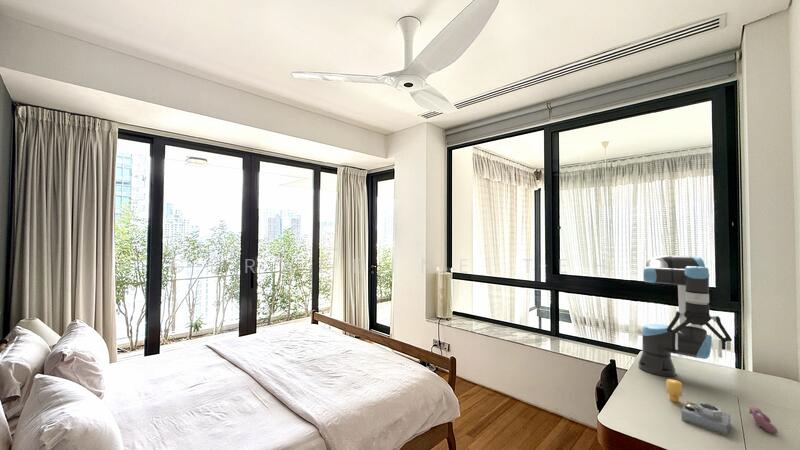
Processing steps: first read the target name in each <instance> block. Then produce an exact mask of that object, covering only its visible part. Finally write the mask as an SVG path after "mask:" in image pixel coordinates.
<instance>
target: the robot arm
mask: <svg viewBox="0 0 800 450" xmlns="http://www.w3.org/2000/svg"><path fill="white" fill-rule="evenodd" d="M643 282H644V283H651V284H665V285H675V286H677V298H678V310H676V312H675V316H674V317H673V319H672V320H671V322H669V324H668V325H665V324H657V323H654V324H653V323H651V324H650V323H649V324H645V325H643V327H642V332H641V335H642V345H641V346H642V349H641V351H642V353H641V355H640V358H639V360H638V368H639V369H640V370H642V371H644V372H647V373H648V374H652V375H657V376H662V377H675V376H676V373H677V372H676V368H675V365H674V363H673V360H672V354H675V355H680V356H685V357H686V356H687V357H690V358H691V357H692V358H694V359H701V360H707V359H708V358H710V354H711V352H712V351H711V349H712V342H713V341H712V340H713V339H712V338H713V337H712V335H710V334H708V332H707V330H706V329H705V328H704V327H703V326H706V327H707V328H708V329H709V330H710V331H711V332H712V333H714V335H716V337H717V338H718V340H717V341H718V342H717V344H718V345H717V349H718V350H717V351H718V352H717V353H718V355H717V356H718V357H719V358H720V359H722V358H723V350H725V351H726V347H727V345H726V343H727V342H732V341H733V339H732V337H731V336H730V335H729V333H728V331H727V329H726V328H725V327H724V324H722V321H721V317H720V316H719V315H715V316H713V315H712V316H711V315H710V305H709V303H710V291H709V290H710V273H709V268H708V267H706V265H705V262H704V260H703V259H702V257H700V256H692V255H668V254H667V255H666V254H665V255H664V254H662V255H657V256H653V257H652V258H650V259H648V260H647V261H646V263H645V267H643ZM711 320H712V321H713V322H715V323H716V324H717V326H718V327H719V329H720V331H721V333H722V334H723V335H724V336H725V337H723V336H722V335H721V333H719V332H718V331H717V330H716V329H715V328H714V327H713V326H712V325H711V324H710V321H711ZM678 321H679V324H678V325H676V324H677V323H678ZM675 325H676V326H675Z"/></svg>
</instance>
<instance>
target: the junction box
mask: <svg viewBox="0 0 800 450" xmlns="http://www.w3.org/2000/svg"><path fill="white" fill-rule="evenodd" d="M681 421H684V422H687V423H689V424H692V425H694V426H697V427H700V428H704V429H706V430H708V431H709V430H710V431H712V432H715V433H718V434H720V435H722V436H728V432H729V430H730V427H731V414H728V413H725V412H723V409H722V408H720V407H718V406H717V405H714V404H710V403H709V402H700V401H699V402H697V403H693V402H690V401H686V403H685V404H684V406H683V407H682V409H681Z"/></svg>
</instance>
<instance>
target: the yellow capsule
mask: <svg viewBox="0 0 800 450" xmlns="http://www.w3.org/2000/svg"><path fill="white" fill-rule="evenodd" d="M666 393H667V394H668V395H669V401H671V402H673V403H680V397H682V396H683V383H682V382H681V381H679V380H676V379H672V378H667V379H666Z"/></svg>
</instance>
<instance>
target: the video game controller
mask: <svg viewBox="0 0 800 450" xmlns="http://www.w3.org/2000/svg"><path fill="white" fill-rule="evenodd" d="M748 409H749V410H748V411H747V412H748V414H749V415H752V417H753V419H754V421H755V422H756V425H757V426H759V427H760V428H762V429H764V430H766V431H767V432H769V433H770V434H774V433H776V434H778V430H777V428H776V427H775V426H773V425H772V424H771V421H772V420H771V419H770V417H769V416H767V415H766V414H765V413H763V411H762V410H761V409H759V408H758V407H757V406H750V407H748Z"/></svg>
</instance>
